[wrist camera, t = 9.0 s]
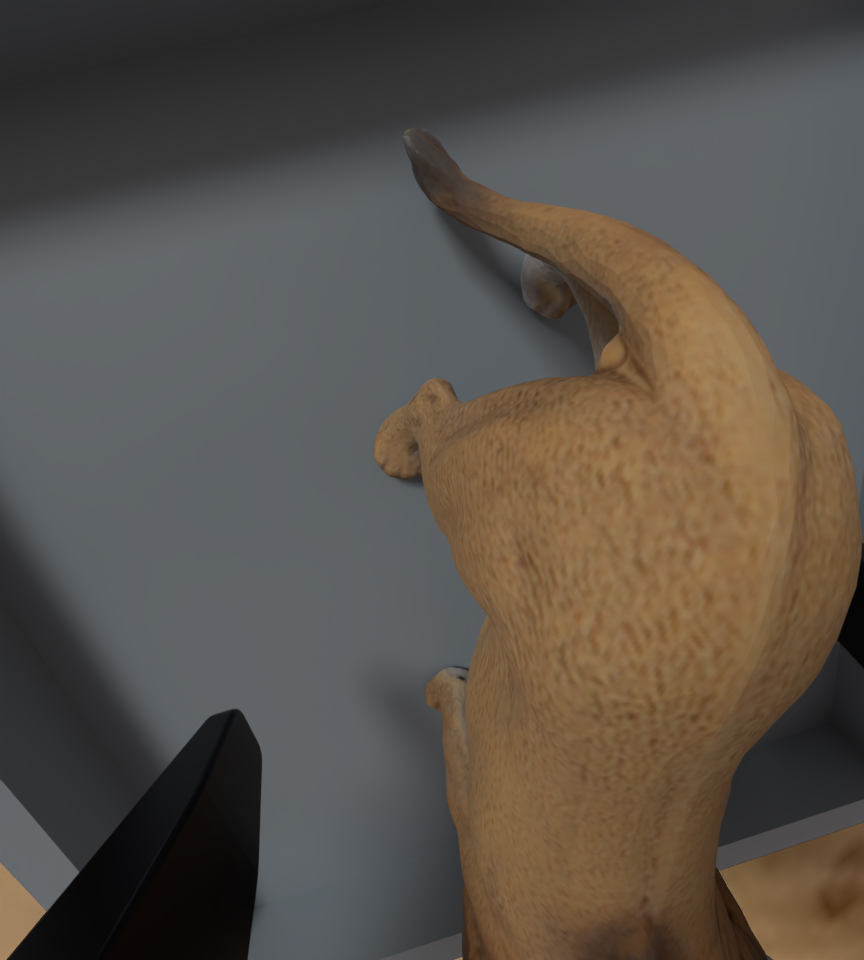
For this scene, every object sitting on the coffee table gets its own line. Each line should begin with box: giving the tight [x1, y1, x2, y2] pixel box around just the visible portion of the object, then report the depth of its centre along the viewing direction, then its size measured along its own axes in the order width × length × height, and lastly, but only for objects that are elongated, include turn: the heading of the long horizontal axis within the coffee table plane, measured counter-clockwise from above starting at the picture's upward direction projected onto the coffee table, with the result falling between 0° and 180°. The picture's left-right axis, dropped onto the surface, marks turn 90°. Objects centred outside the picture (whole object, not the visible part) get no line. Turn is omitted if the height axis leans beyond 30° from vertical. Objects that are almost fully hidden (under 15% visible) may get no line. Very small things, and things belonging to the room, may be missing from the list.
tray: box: [0, 0, 864, 960], centre depth 10 cm, size 20×20×2 cm
